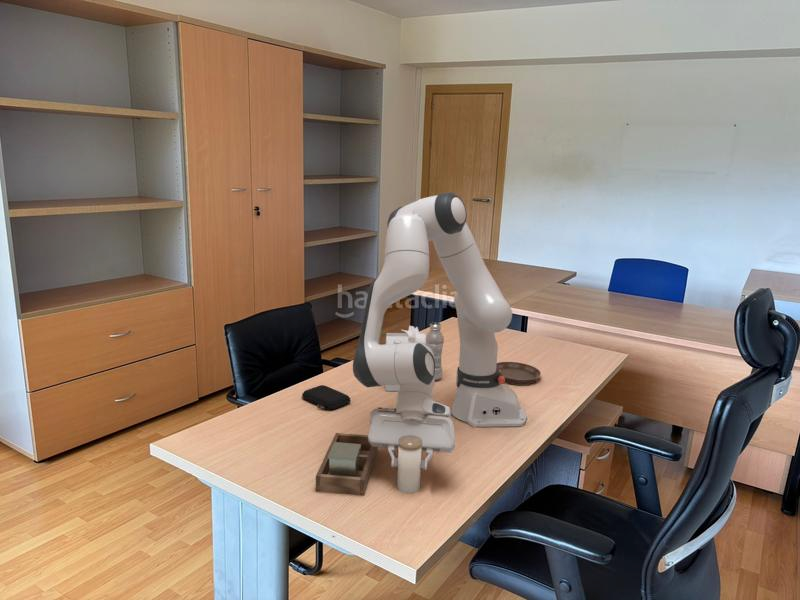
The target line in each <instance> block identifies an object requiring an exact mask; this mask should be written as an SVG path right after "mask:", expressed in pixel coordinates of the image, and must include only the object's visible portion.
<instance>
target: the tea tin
mask: <svg viewBox="0 0 800 600" xmlns="http://www.w3.org/2000/svg"><path fill="white" fill-rule="evenodd" d="M360 449H361V444H352V443H340V442H334V444H333V446H332V448H331V451H330V453H329V455H328V459H329V475H338V476H349V477H359V475H360Z"/></svg>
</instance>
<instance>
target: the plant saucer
mask: <svg viewBox="0 0 800 600" xmlns="http://www.w3.org/2000/svg"><path fill="white" fill-rule="evenodd" d="M496 369H497V370H498V371H499V370H500V371H501V373H502V374H503V377H504V378H505V383H504V384H510V385H517V386H519V385H520V386H523V385H530V384H532V383H534V382H536V380H538V379H539V378H540V377H541V371H540V369H538V368H537V367H535V366H533V365H531V364H527V363H522V362H514V361H500V362H497V365H496Z"/></svg>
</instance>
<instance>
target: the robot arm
mask: <svg viewBox="0 0 800 600" xmlns="http://www.w3.org/2000/svg"><path fill="white" fill-rule="evenodd" d="M467 214H468V213H467V209H466V206H465V203H464V202H463V200H462V199H461V197H459V196H458V195H457V194H455V193H453V192H442V193H439V194H438V195H437V194H436V195H431V196H427V197H423V198H420V199H418V200H416V201H413V202H411V203H409V204H406V205H405V206H404V205H403V206H400V207H397V208H395V209H394V210H393V211H392V212H391V213H390V214H389V216H388V219H387V224H386V225H387V231H386V237H385V244H384V258H383V259H384V262H383V265H382V269H381V271H380V274H379V275H378V276H377V278H376V279H374V280H373V281H372V282H371V284H370V286H369V290H368V292H367V298H366V302H365V306H364V307H365V308H364V312H363V318H362V323H361V329H360V332H359V333H360V334H359V337H358V338H359V339H358V342H357V343H358V344H357V347H356V349H355V353H354V356H353V360H352V373H353V376H354V377H355V378H356V380H357V381H358V382H359V383H360V384H361V385H362V386H364V387H365V388H375V387H376V388H377V387H382V386H385V385H400V389H399V391H397V395H396V396H397V397H396V404H395V407H394V408H393V407H380V406H379V407H377V408H374V409H373V410H372V411H371V412H370V414H369V423H370V427H369V430H368V434H367V435H368V442H369V443H370V445H371V446H373V447H378V448H387V451H388V453H389V456H390V458H391V463H390V464H391V465H390V466H391V468H397V469H398V457H395V454H394V453H395V452H396V449H397V450H398V449H399V445H398V440H399V438H400V437H402V436H407V435H412V436H417V437H419V438H421V439H422V449H421V451H424V452H425V451H426V457H425V459H421V465H420V469H421V471H422V470H423V471H428V463H429V462H430V460H431V459H432V457H433V455H434V452H435V453H436V452H437V453H452V452H453V451H454V450H455V448H456V437H455V435H456V434H455V426H454V422H453V419H451V418H452V417H451V416H453V417H455V418H456V419H458V420H460V421H463V422H465V423H467V424H468V425H470V426H471V427H475V428H476V427H477V428H481V427H482V428H483V427H484V428H485V427H486V428H487V427H490V428H491V427H523V426H525V424H526V422H527V413H526V410H525V409H524V408H523V407H522V406H520V401H519V398H518V396H517V394H516V392H515V391H514V390H512V389H511V388H510V387H509V386H507V385H506V383H505V378H504V377H503V374H502V373H501V371H500V370H499V371H498V370H497V369H496V365H497V363H498V361H497V360H498V348H499V346H498V341H497V340H496V339H497V338H496V334H495V333H500V332H502V331H504V330H505V329H506V328H508V326H509V325H510V323H511V321H512V318H513V310H512V307H511V306H510V304H509V303H508V301H507V300H506V298H505V297H504V295H503V293H502V292H501V290H500V288H499V286H498V284H497V282H496V281H495V278H493V276H492V274H491V272H490V271H489V269H488V267H487V265H486V263H485V261H484V258H483V257H482V254H481V252H480V249H479V247H478V245H477V242H476V240H475V238H474V236H473V233H472V231H471V229H470V228H469V226H468V223H467V222H466V221H467V218H468V217H467ZM431 241H432V243H433V244H432V245H433V246H434V249H435V251H436V254H437V256H438V259H439V261H440V263H441V265H442V267H443V270H444V272H445V274H446V277H447V279H448V281H449V282H450V284H451V285H452V287H453V288H454V290H455V292H454V297H453V303H454V305H455V309H456V315H457V328H458V334H459V359H458V361H459V362H458V367H457V370H456V375H455V376H456V378H455V379H456V380H455V382H456V383H455V384H456V391H455V396H454V400H453V403H452V406H451V408H450V407H449V406H448V405H445V404H443V403H440V402H437V401H435V400H434V394H433V390H434V387H435V382H436V380H435V360H434V353H433V351H432V349H431V348H430V347H428V346H426V345H424V344H420V343H412V342H408V343H399V344H385V343H384V344H380V339H381V333H382V326H383V323H384V316H385V313H386V311H387V310H388V309H389V307H391V306H392V305H393V304H395V303H396V302H398V301H400V300H401V299H404V298H406V297H408V296H410V295H412V294H414V293H416V292H418V290H420V289H421V288H422V287H423V286H424V285H425V284H426V282H427V280H428V278H429V273H430V246H429V245H430V244H429V242H431Z"/></svg>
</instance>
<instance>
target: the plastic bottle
mask: <svg viewBox="0 0 800 600" xmlns="http://www.w3.org/2000/svg"><path fill="white" fill-rule="evenodd" d="M441 326H442V325H441V323H440V322H431V323H429V330H430V331H429V332H428V333H427V334H426V335H427V336H426V346H428V347H430V348H431V349H432V351H433V353H434V360H435V381H439V380H440V379H441V377H443V376H442V375H443V366H442V365H443V364H442V363H443V362H442V355H443V347H444V342H445V338H444V335H443V333H442V332H441V329H442V328H441Z"/></svg>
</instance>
